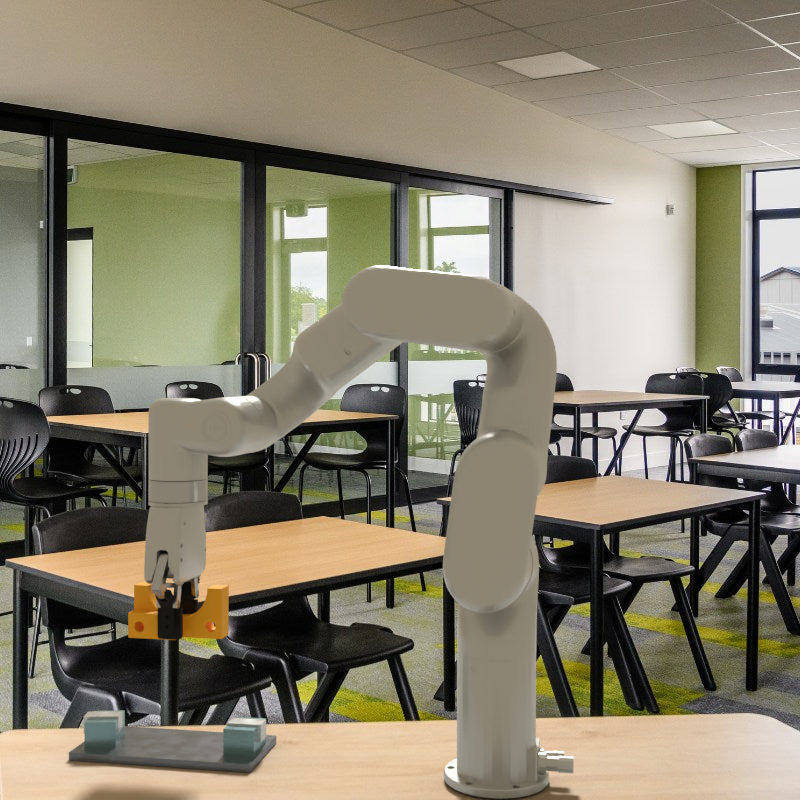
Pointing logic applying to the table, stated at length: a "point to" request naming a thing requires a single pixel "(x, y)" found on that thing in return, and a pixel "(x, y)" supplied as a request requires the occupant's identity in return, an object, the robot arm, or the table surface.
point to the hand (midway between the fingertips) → (178, 632)
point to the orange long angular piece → (194, 625)
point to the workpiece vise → (173, 744)
